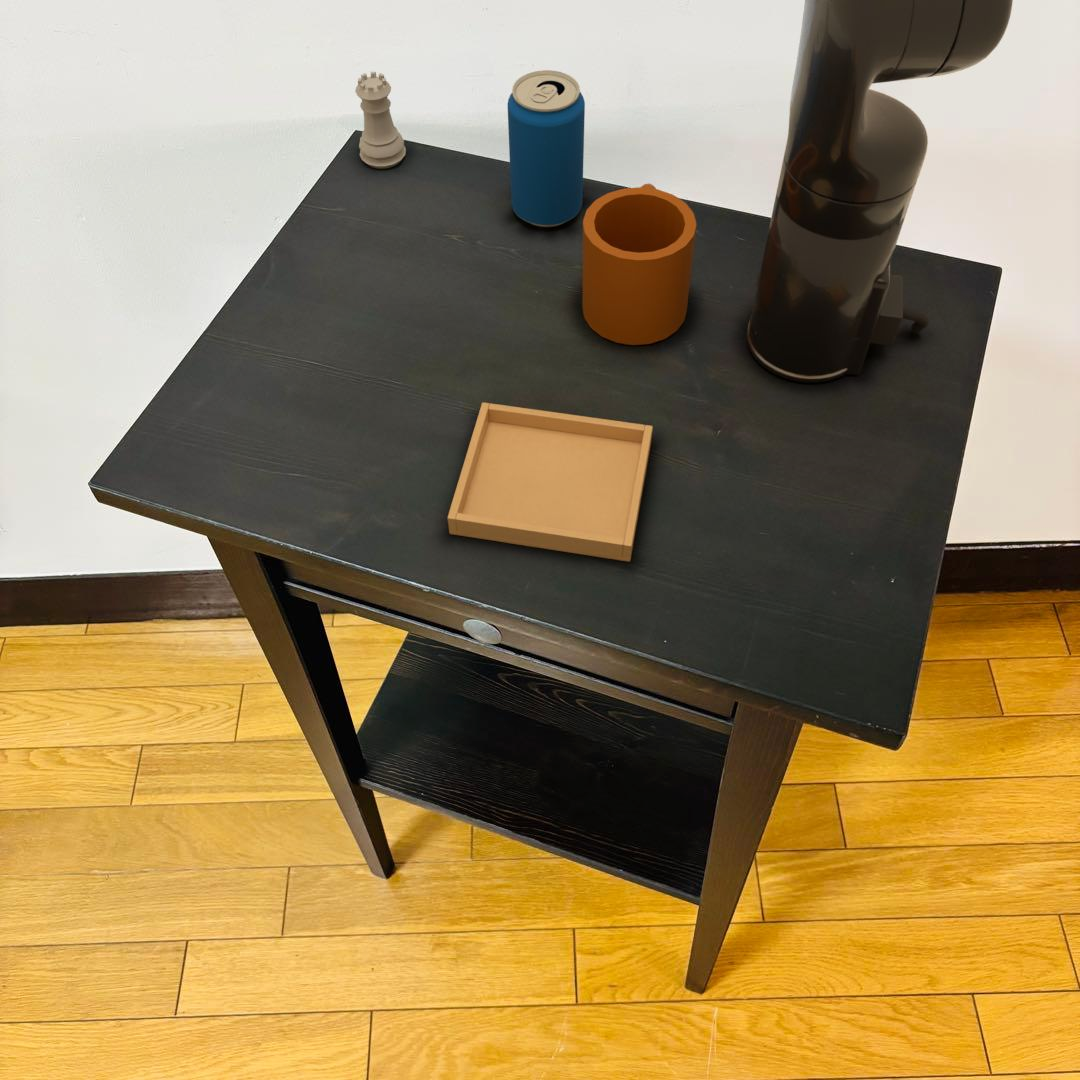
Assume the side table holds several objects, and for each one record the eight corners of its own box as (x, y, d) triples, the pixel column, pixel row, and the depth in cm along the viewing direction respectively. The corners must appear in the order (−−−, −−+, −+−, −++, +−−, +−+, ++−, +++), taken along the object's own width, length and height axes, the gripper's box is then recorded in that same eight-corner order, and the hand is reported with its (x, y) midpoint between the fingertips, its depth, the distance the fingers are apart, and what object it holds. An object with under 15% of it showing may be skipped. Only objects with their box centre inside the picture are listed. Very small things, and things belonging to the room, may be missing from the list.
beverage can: (595, 202, 98) (599, 81, 88) (558, 241, 95) (558, 121, 85) (536, 179, 100) (534, 59, 90) (498, 216, 97) (491, 96, 87)
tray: (651, 442, 82) (653, 425, 80) (630, 562, 75) (631, 546, 74) (483, 419, 83) (482, 401, 82) (449, 534, 77) (447, 517, 75)
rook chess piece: (399, 173, 101) (388, 96, 94) (354, 167, 101) (340, 91, 95) (412, 145, 103) (402, 68, 97) (367, 140, 104) (355, 63, 97)
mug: (711, 266, 93) (724, 178, 86) (667, 358, 87) (677, 272, 79) (614, 241, 95) (619, 153, 88) (565, 329, 89) (565, 242, 81)
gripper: (486, -123, 106) (382, -55, 99) (605, -84, 102) (505, -9, 94) (489, -47, 113) (392, 23, 105) (602, -7, 108) (508, 69, 101)
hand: (445, 8), depth 100 cm, fingers open, 8 cm apart
